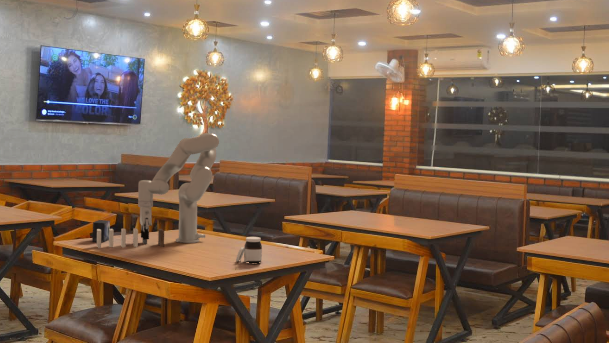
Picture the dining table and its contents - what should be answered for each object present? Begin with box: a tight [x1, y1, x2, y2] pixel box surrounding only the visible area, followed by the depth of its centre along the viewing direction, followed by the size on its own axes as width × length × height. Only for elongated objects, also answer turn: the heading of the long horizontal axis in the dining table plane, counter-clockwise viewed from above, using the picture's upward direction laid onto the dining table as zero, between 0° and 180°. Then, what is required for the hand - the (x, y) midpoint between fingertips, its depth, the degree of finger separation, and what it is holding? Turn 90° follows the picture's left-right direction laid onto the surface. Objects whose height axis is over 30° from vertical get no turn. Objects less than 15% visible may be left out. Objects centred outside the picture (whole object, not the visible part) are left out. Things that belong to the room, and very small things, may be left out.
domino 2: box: [108, 228, 115, 248], centre depth 361 cm, size 2×5×9 cm, turn 21°
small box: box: [91, 219, 111, 243], centre depth 379 cm, size 11×6×10 cm, turn 179°
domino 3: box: [120, 228, 127, 248], centre depth 363 cm, size 2×5×9 cm, turn 21°
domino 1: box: [96, 229, 102, 249], centre depth 359 cm, size 2×5×9 cm, turn 21°
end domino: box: [142, 238, 148, 245], centre depth 375 cm, size 2×5×9 cm, turn 21°
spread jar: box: [235, 236, 263, 263], centre depth 331 cm, size 12×11×12 cm
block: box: [157, 228, 165, 248], centre depth 370 cm, size 2×8×8 cm, turn 21°
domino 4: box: [132, 227, 139, 248], centre depth 366 cm, size 2×5×9 cm, turn 21°
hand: (144, 238), depth 375 cm, fingers closed on end domino, 5 cm apart
